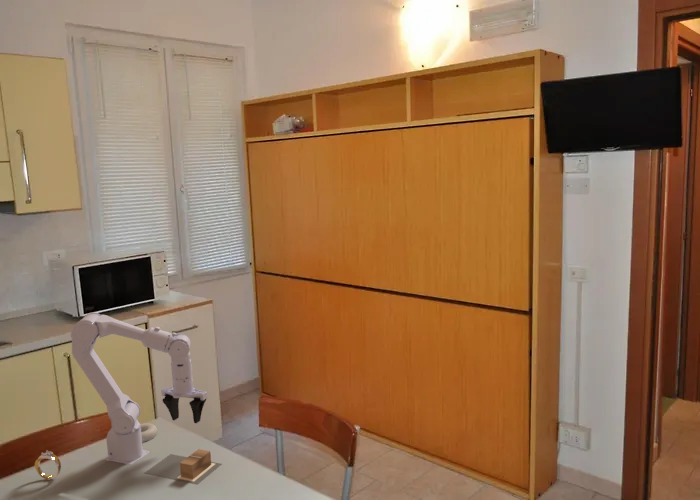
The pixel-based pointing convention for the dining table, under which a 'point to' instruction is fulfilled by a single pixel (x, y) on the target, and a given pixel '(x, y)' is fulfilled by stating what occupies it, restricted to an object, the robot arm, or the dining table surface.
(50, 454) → the ring
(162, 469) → the mat
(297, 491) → the dining table surface
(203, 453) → the brown rectangular block
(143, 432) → the donut
